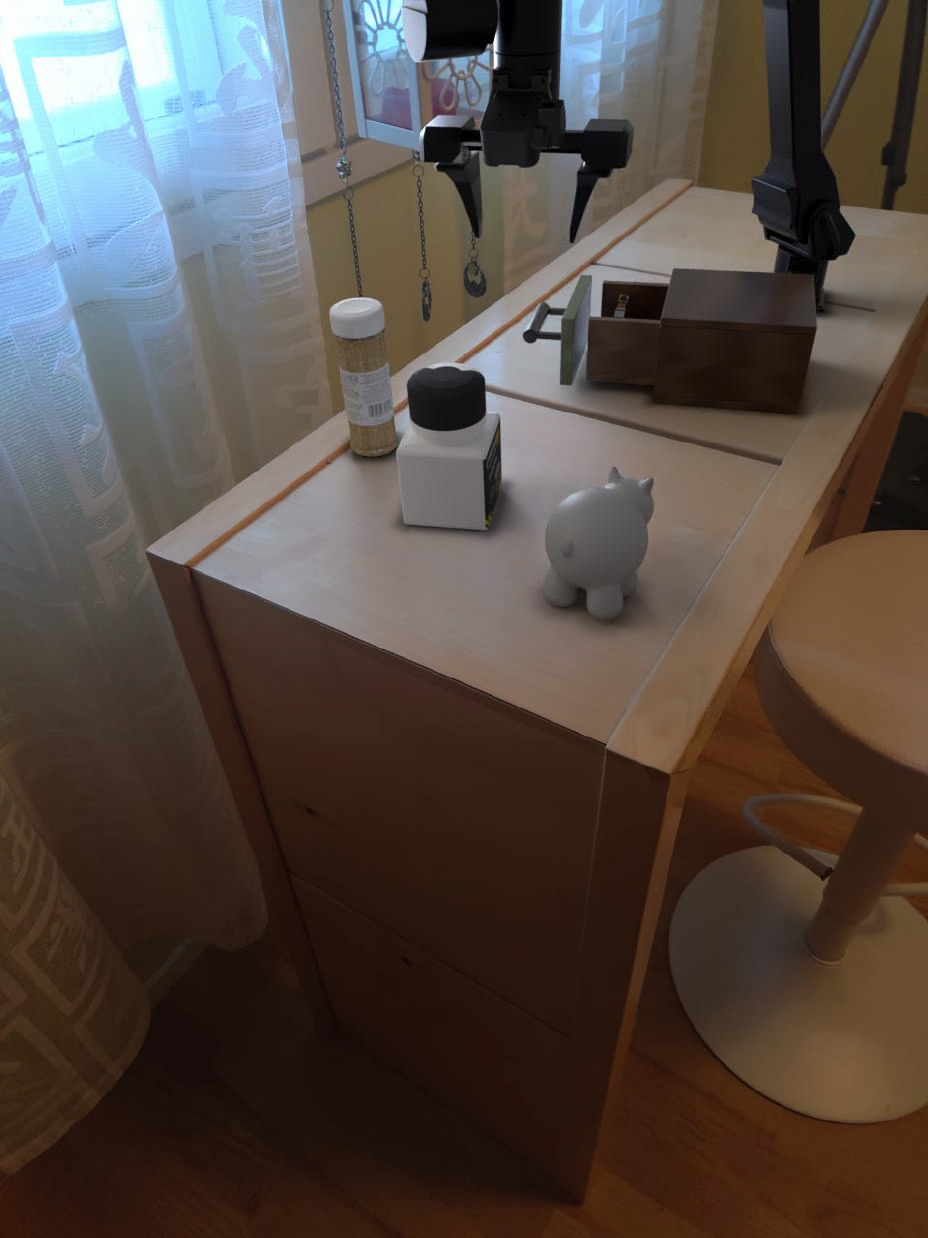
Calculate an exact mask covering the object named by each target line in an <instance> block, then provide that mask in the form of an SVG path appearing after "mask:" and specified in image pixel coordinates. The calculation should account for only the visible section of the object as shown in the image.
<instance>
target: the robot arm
mask: <svg viewBox="0 0 928 1238" xmlns="http://www.w3.org/2000/svg"><path fill="white" fill-rule="evenodd" d="M761 1H762V7H763V24H764V26H763V27H764V42H765V43H764V44H765V60H766V61H765V62H766V64H765V65H766V81H767V103H768V121H769V139H770V157H769V159H768V162H767V164H766V166H765V167H764V170H763V172H762V174H759V175H755V176H752V178H751V182H750V186H751V190H752V195H753V205H752V208H751V213H752V214H754V215H755V216H757V219H758V221H759V224H761V225H762V228H763V236H764V240H766V241H770V242H773V243H774V244H777V251H776V256H775V262H774V267H773V272H772V273H793V274H813V276H814V290H815V305H816V313H824V312H825V310H826V300H825V289H824V285H825V282H826V276H827V272H828V268H829V263H830V261H831V262H833V261H837V259H838V258H839V257H841V256H846V255H847V254H848V253H849V250H850V248H851V247H852V245H853V243H854V240H855V238H856V233H855V231H854V230H853V228H852V227H851V226H850V224H849V223H848V221H847V219H846V218H845V216H844V215H843V214H842V212H841V197H840V190H839V186H838V185H839V183H838V180H837V179H838V177H837V175H836V173H835V171H834V170H833V168H832V166H831V165H832V164H830V162H829V160H828V158H827V156H826V154H825V152H824V149H823V145H822V64H821V62H822V61H821V59H822V57H821V56H822V55H821V53H822V51H821V0H761ZM400 13H401V14H400V15H401V16H400V17H401V24H402V25H401V26H402V32H403V37H404V42H405V45H406V48H407V51H408V53H409V55H410V58H411V59H412V60H413V62H415V63H424V62H432V61H434V62H435V61H442V60H451V59H460V58H469V57H479V56H482V55H484V53H485V52H486V50H487V48H488V45H493V69H492V78H491V90H490V94H489V98H488V101H487V104H486V106H485V110H484V113H483V115H482V118H481V121H480V124H479V127H477V125H476V120H475V118H474V115H447V114H445V115H444V114H438V115H436V117H434V118H433V119H432V120H431V121H430V122H429V123H427V124H426V125H425V126H424V127H423V129H422V130H421V131H420V133H419V140H418V143H419V161H421V162H422V163H435V164H434V169H435V171H436V172H437V173H444V174H445V175H446V176H447V177H448V178H449V179H450V180H451V181H452V183H453V185H454V186H455V188H456V190H457V193H458V194H459V197H460V199H461V201H462V204H463V208H464V210H465V213H466V216H467V218H468V221H469V224H470V226H471V230H472V233H473V235H474V237H475V239H481V237H482V235H483V219H484V217H483V197H482V195H483V194H482V179H481V163H480V162H481V160H480V152H481V153H482V161H483V164H484V165H485V166H487V167H489V168H490V167H491V168H497V167H499V166H517V167H519V168H521V169H530V168H533V167H535V166H536V165H537V164H539V161H540V160H541V159H540V158H541V154H542V153H543V154H567V155H568V154H569V155H580V159H581V161H582V162H581V163H580V165H579V167H578V169H577V171H576V179H575V192H574V197H573V205H572V209H571V217H570V223H569V234H568V235H569V237H568V239H569V240H568V241H569V244H574V243H575V241H576V238H577V237H578V236H577V235H578V233H579V230H580V227H581V225H582V221H583V220H584V219H583V218H584V215H585V213H586V210H587V207H588V205H589V201H590V198H591V196H592V193H593V191H594V190H595V187H596V185H597V183H598V180H599V179H607V178H610V177H611V176H612V174H613V172H614V170H621V169H624V168H626V167H627V165H628V163H629V160H630V158H631V156H632V154H633V144H634V131H635V130H634V126H633V124H632V123H631V121H630V120H629V119H627V118H626V119H622V118H621V119H619V118H590V119H589V121H588V122H587V124H586V125H585V127H584V129H567V113H566V105H565V100H564V99H560V93H561V91H560V90H561V63H562V62H561V60H562V59H561V58H562V27H563V0H403V5H402V6H401V8H400Z"/></svg>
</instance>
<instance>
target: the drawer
mask: <svg viewBox="0 0 928 1238" xmlns="http://www.w3.org/2000/svg"><path fill="white" fill-rule="evenodd" d="M592 285H593V275H592V274H580V275H579V278H578V280H577V282H576V285H575V287H574V289H573V292H572V294H571V297H570V299H569V301H568V304H567V306H566V307H551V306H550V305H549V303H547V302H545V301H542V302H539V303H538V304H537V305H536V307H535V308H534V311H533V313H532V315H531V316H530V318H529V321H528V323H527V325H526V327H525V329H524V331H523V333H522V339H523V341H524V342H525V343H527V344H534V343H536V342H537V340H549V341H560V361H559V366H560V367H559V385H561V386H572V385H573V383H574V380H575V377H576V374H577V371H578V369H579V366H580V363H581V361H582V358H583V356H584V353H585V351H586V366H585V367H586V368H585V369H586V370H585V381H587V382H588V381H589V382H591V381H592V382H603V383H615V384H630V385H643V386H654V382H655V373H656V363H657V353H658V343H659V333H660V323H661V316H662V312H663V308H664V304H665V300H666V295H667V291H668V287H669V283H668V282H667V283H666V282H665V283H664V282H644V281H643V282H642V281H626V280H625V281H623V280H603V281H602V285H601V286H602V288H601V305H600V316H592V315H591V309H592V288H593V286H592ZM622 294H624V295H627V296H629V300H628V305H627V308H626V311H625V317H624V318H614V315H615V309H616V308H617V305H618V300H619V297H620V295H622ZM548 316H559V317H560V316H561V319H560V322H561V323H560V324H561V326H560V332H559V331H558V332H556V331H542V330H543V328H544V325H545V324H546V321H547V319H548Z"/></svg>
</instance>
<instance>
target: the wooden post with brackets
mask: <svg viewBox="0 0 928 1238" xmlns="http://www.w3.org/2000/svg"><path fill="white" fill-rule="evenodd" d="M628 300H629V296H627V295H624V294H622V295H620V297H619V300H618V305H617V308H616V309H615V315H614V318H624V317H625V311H626V308H627V305H628Z"/></svg>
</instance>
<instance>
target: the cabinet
mask: <svg viewBox="0 0 928 1238" xmlns="http://www.w3.org/2000/svg"><path fill="white" fill-rule="evenodd" d="M668 284H669V287H668V291H667V295H666V300H665V304H664V308H663V312H662V316H661V323H660V333H659V343H658V353H657V363H656V373H655V382H654V385H653V394H652V403H653V404H661V405H662V404H663V405H676V406H687V407H700V408H713V409H714V408H715V409H725V410H737V411H751V412H763V413H775V414H777V413H778V414H787V415H798V414H799V410H800V407H801V401H802V397H803V392H804V388H805V383H806V381H807V380H806V379H807V375H808V370H809V366H810V361H811V356H812V352H813V348H814V343H815V338H816V334H817V329H818V323H817V322H818V321H817V312H816V305H815V290H814V276H813V274H793V273H773V272H771V271H770V272H768V271H767V272H766V271H745V270H727V269H726V270H723V269H704V268H703V269H702V268H701V269H700V268H683V267H682V268H680V267H679V268H678V267H673V268H672V271H671V276H670V280H669V283H668Z"/></svg>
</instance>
